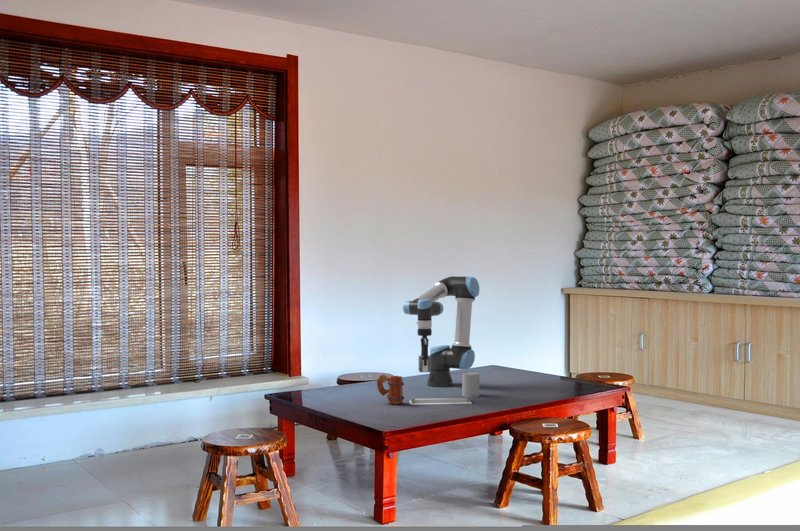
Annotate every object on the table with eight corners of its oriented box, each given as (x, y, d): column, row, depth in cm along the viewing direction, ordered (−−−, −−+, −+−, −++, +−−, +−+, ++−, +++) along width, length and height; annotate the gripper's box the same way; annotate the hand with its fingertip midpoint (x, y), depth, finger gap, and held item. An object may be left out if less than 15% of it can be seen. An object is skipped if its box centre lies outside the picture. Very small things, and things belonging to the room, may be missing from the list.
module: (418, 370, 420) (418, 355, 420) (429, 370, 420) (429, 355, 420) (419, 372, 413) (419, 357, 413) (430, 372, 413) (430, 357, 413)
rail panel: (409, 401, 410) (409, 396, 410) (469, 400, 412) (469, 395, 412) (410, 404, 401) (410, 399, 401) (472, 403, 403) (472, 398, 403)
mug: (406, 402, 407) (406, 374, 406) (402, 405, 399) (402, 376, 399) (380, 401, 411) (379, 372, 411) (375, 404, 403) (375, 375, 403)
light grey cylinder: (475, 393, 432) (475, 371, 432) (482, 396, 423) (482, 374, 423) (459, 394, 429) (459, 372, 429) (466, 397, 420) (466, 375, 420)
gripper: (416, 326, 426) (416, 367, 427) (418, 330, 406) (419, 373, 407) (429, 326, 426) (429, 367, 427) (433, 330, 406) (433, 373, 407)
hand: (424, 370), depth 417 cm, fingers closed on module, 7 cm apart
